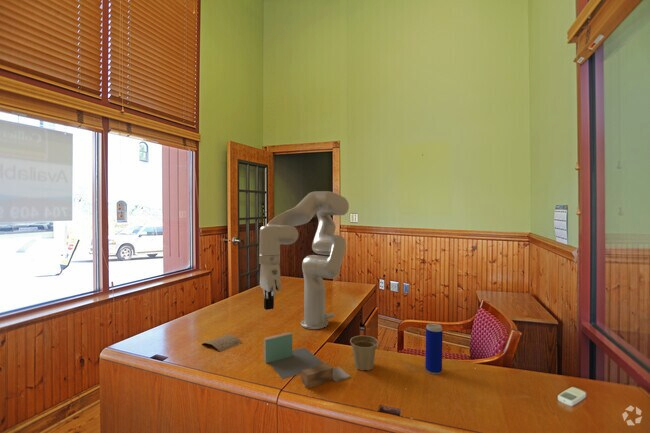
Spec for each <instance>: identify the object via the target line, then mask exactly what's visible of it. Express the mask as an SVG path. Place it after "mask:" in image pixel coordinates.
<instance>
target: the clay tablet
mask: <svg viewBox="0 0 650 433" xmlns="http://www.w3.org/2000/svg"><path fill="white" fill-rule="evenodd" d="M204 344H208V345H211V346H213V347H214V348H215V349H217V351H218V352H219V353H220V352H225V351H227V350H229V349H231V348H234V347H237V346H240V345H242V344H244V343H243V341H241V339H239V338H238V337H237V336H234V335H232V334H230V333H229V334H225V335H223V336H219V337H217V338H214V339H211V340H209V341H205V342H203V343H202V345H204Z"/></svg>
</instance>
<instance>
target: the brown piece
mask: <svg viewBox="0 0 650 433" xmlns="http://www.w3.org/2000/svg"><path fill="white" fill-rule="evenodd" d="M350 378H351V375H350V374H348V373H347V372H346V371H345V370H343V369H342V368H341V367H340V366H337V367H334V368H333V366H331V365H330V364H329V363H328V362H326V363H324V364H322V365H318V366H315V367H312V368H308V369H305V370H302V374H301V383H302V384H303V385H304V386H305V388H306V389H311V388H313V387H317V386H319V385H323V384H326V383H328V382H332V381H333V382H334V383H339V382H341V381H343V380H346V379H350Z"/></svg>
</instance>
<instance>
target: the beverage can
mask: <svg viewBox="0 0 650 433" xmlns="http://www.w3.org/2000/svg"><path fill="white" fill-rule="evenodd" d="M443 331H444V330H443V326H442V325H441V324H439V323H436V322H435V323H434V322H431V323H427V324H426V327H425V362H424V367H425V370H426V371H427V372H428V373H430V374H432V375H439V374H441V373H442V371H443V336H444V335H443V334H444V332H443Z"/></svg>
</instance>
